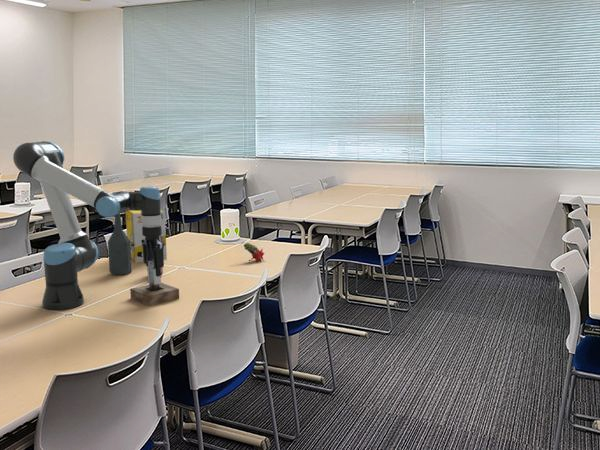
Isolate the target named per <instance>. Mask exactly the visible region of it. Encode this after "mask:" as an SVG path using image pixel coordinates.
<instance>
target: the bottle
mask: <svg viewBox="0 0 600 450" xmlns="http://www.w3.org/2000/svg"><path fill="white" fill-rule="evenodd" d="M107 250H108V266H109V268H108V269H109V273H110V275H112V276H125V275H129V274H131V273H132V271H133V268H132V264H133V263H132V259H131V244H130V240H129V238H128V237H127V233H125V231H124V230H123V224H122V217H121V213H119V214H116V215H114V229H113V231H112V234H111V236H110V237H109V238H108V241H107Z"/></svg>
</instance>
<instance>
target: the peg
mask: <svg viewBox="0 0 600 450" xmlns="http://www.w3.org/2000/svg"><path fill="white" fill-rule="evenodd" d="M153 268H154V261H153V259H152V260H148V271H149V282H148V285H149V291H151V292H153V291H158V290H160V284H156V285H155V284H154V272H153Z"/></svg>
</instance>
